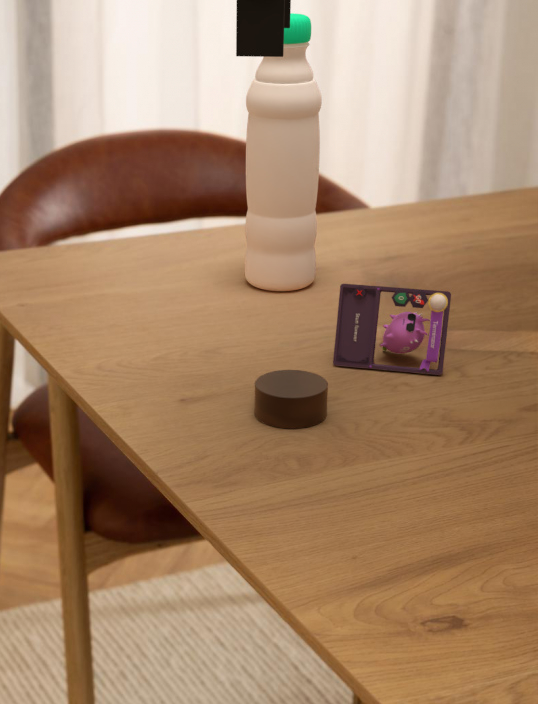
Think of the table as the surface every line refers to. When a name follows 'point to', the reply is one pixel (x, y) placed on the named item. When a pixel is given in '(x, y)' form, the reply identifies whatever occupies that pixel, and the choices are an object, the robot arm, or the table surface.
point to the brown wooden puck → (291, 398)
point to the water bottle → (283, 166)
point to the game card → (389, 327)
